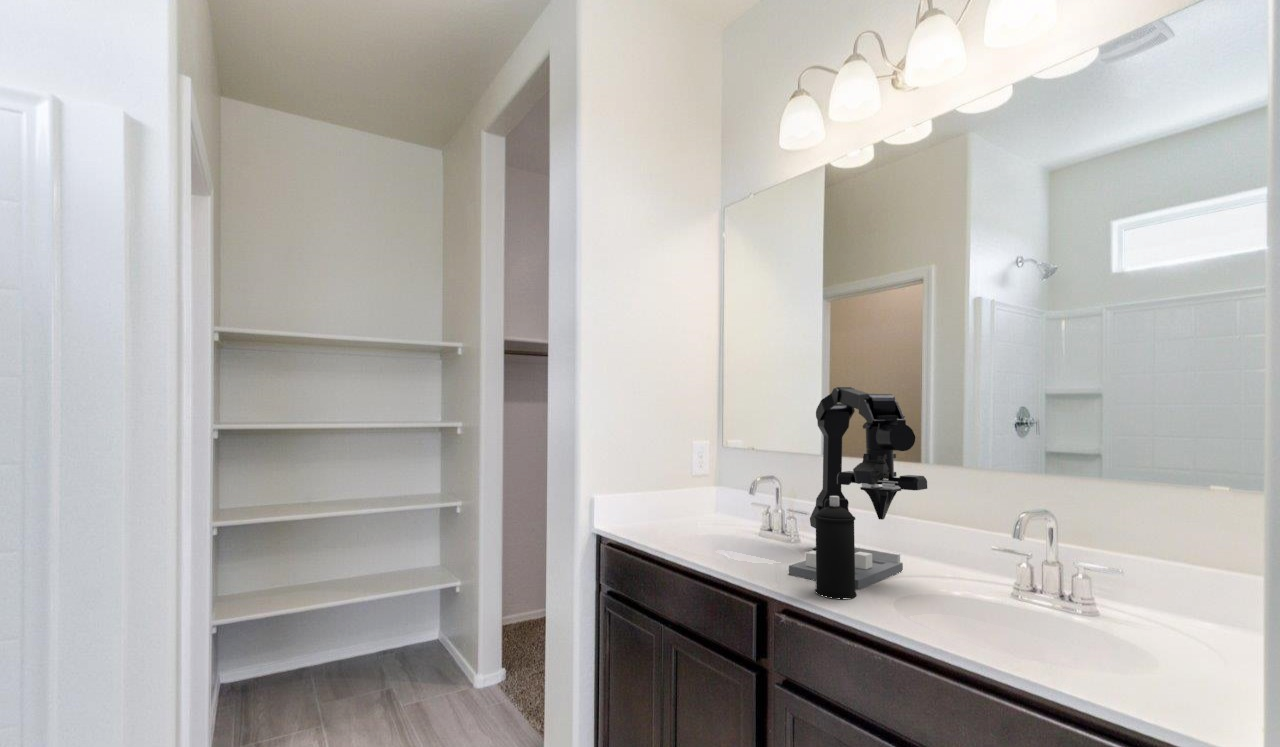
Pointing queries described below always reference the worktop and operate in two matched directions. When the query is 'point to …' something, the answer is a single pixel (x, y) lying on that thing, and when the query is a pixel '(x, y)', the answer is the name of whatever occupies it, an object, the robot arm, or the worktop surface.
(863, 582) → the breaker panel
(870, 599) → the worktop surface
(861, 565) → the block
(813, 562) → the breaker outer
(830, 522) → the aerosol can
